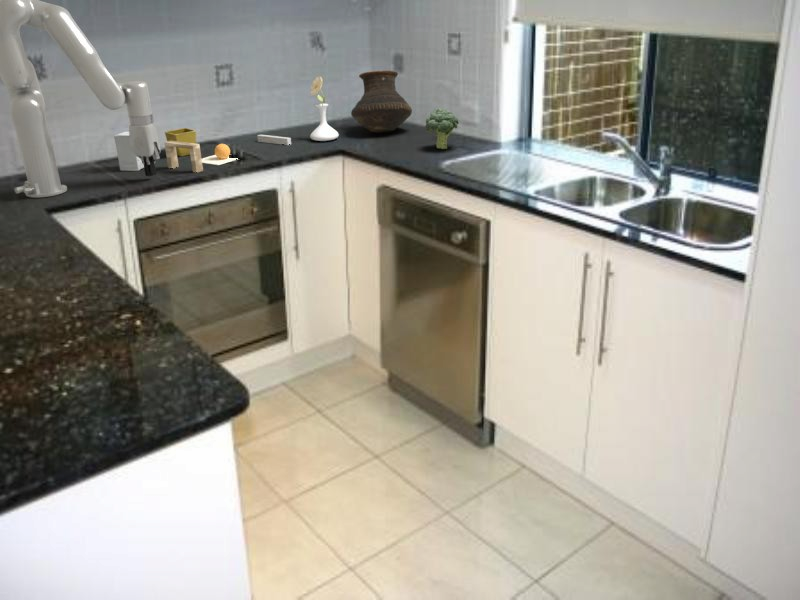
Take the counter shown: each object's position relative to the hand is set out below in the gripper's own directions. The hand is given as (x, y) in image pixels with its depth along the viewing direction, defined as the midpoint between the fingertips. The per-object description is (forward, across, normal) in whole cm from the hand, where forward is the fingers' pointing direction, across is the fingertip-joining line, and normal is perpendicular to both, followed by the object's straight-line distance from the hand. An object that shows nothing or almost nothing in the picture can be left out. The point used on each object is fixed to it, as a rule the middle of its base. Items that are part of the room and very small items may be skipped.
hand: (150, 175), depth 263 cm
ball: (-1, +1, +32) cm, 32 cm away
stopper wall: (+2, 0, +61) cm, 61 cm away
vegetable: (+2, +67, +79) cm, 104 cm away
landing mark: (+2, 0, +31) cm, 31 cm away
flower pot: (+2, -19, +31) cm, 36 cm away
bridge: (+2, 0, +15) cm, 15 cm away
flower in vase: (+2, +16, +73) cm, 75 cm away
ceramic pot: (+2, +30, +93) cm, 98 cm away
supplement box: (+2, -19, +8) cm, 21 cm away
